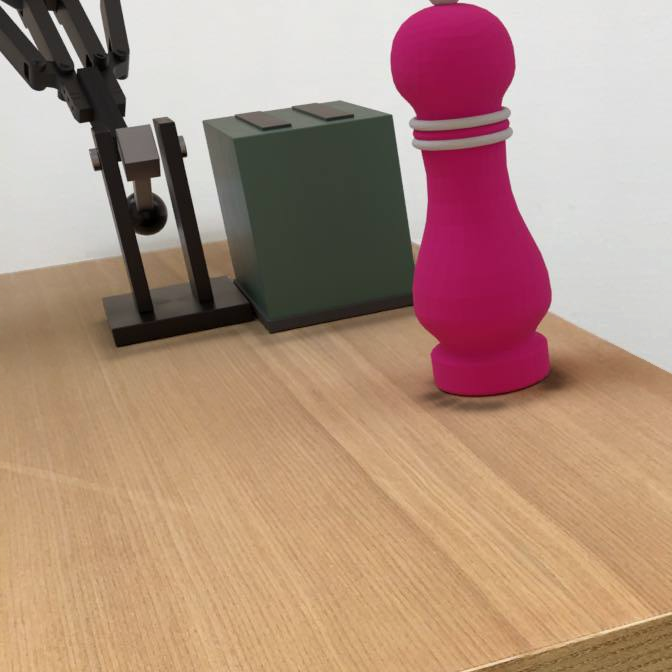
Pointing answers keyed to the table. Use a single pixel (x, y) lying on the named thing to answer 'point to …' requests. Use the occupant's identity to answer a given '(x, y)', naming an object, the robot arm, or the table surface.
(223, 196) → the toaster
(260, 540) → the table surface
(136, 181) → the lever
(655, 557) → the table surface
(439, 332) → the pepper mill
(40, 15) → the robot arm
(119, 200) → the bracket
